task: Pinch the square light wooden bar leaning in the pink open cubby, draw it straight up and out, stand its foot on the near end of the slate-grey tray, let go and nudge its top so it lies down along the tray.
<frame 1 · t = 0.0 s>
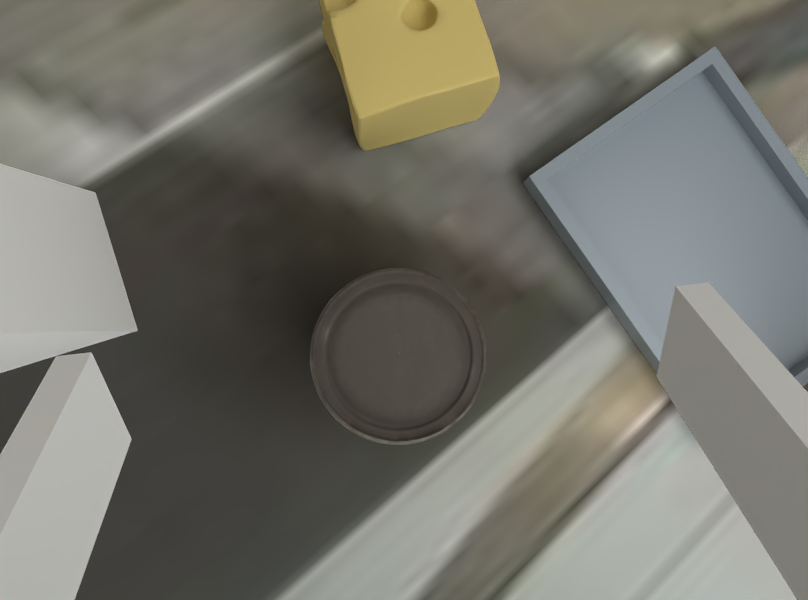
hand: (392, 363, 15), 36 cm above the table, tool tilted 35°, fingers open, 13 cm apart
milk: (44, 283, 50), on the table
cheese: (405, 82, 51), on the table
slate tray: (701, 248, 51), on the table
coffee can: (394, 344, 51), on the table
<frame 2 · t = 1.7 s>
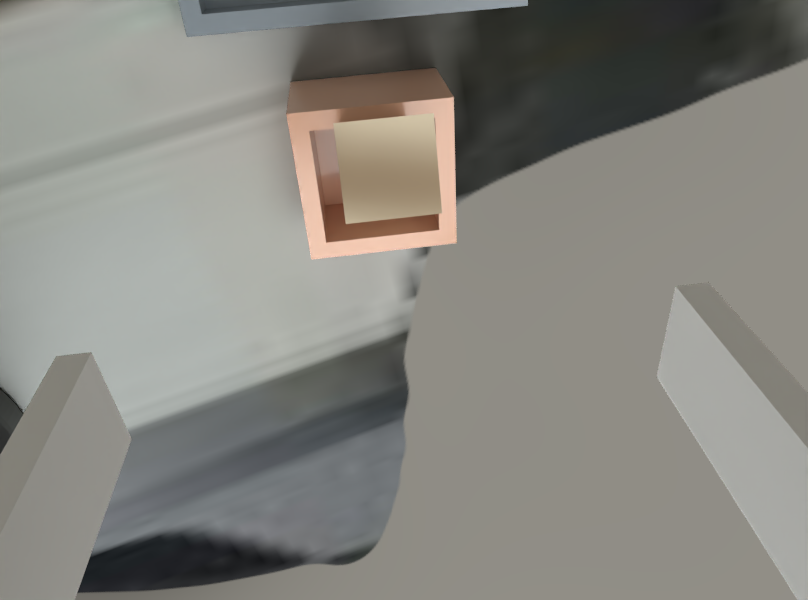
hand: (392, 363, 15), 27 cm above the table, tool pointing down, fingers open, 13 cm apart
light wooden bar: (372, 157, 38), point 2 cm above the table, touching pink open cubby
pink open cubby: (370, 144, 39), on the table
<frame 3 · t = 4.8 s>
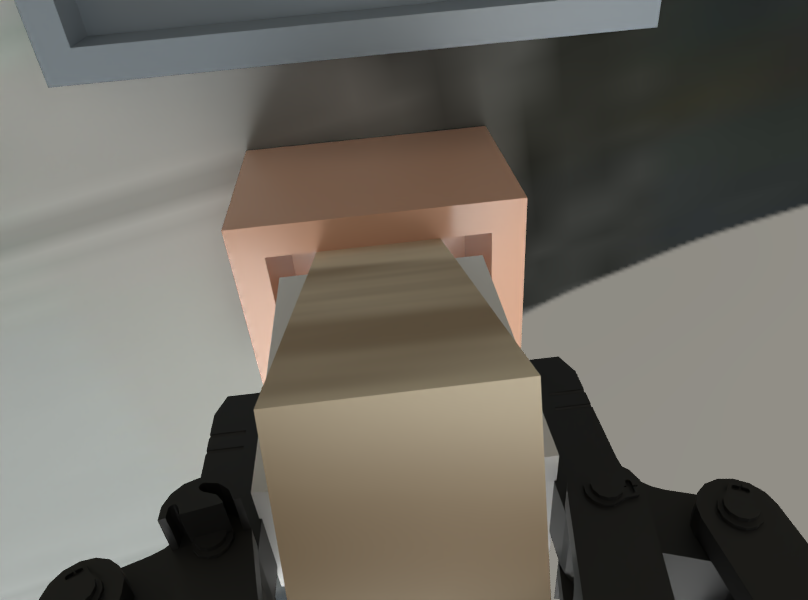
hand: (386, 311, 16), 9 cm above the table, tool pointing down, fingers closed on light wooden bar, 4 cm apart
light wooden bar: (380, 267, 24), point 2 cm above the table, touching gripper, pink open cubby
pink open cubby: (378, 242, 25), on the table
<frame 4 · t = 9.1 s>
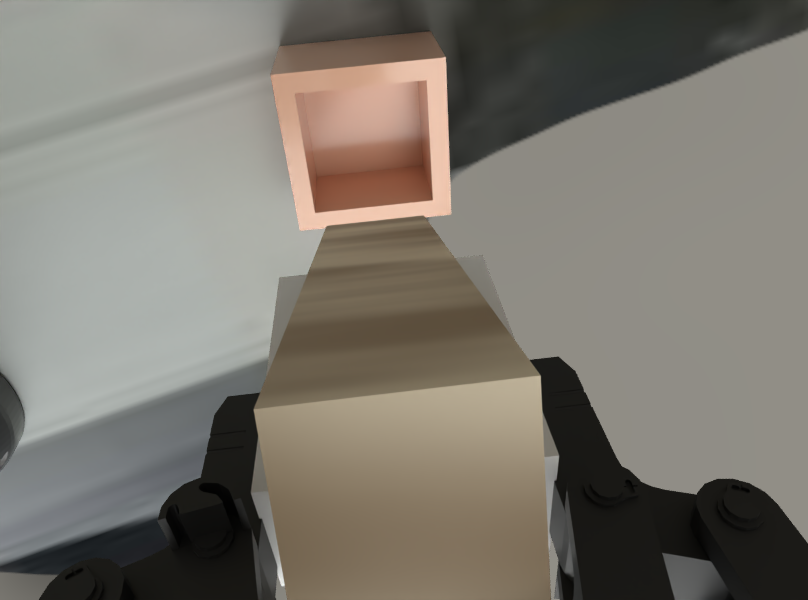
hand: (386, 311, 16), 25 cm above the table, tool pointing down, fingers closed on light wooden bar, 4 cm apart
light wooden bar: (380, 267, 24), point 18 cm above the table, touching gripper
pink open cubby: (363, 113, 38), on the table
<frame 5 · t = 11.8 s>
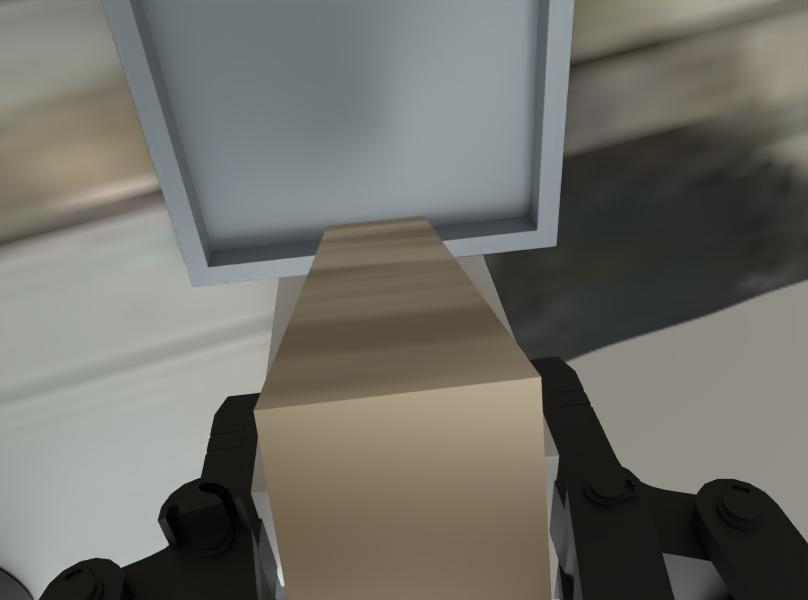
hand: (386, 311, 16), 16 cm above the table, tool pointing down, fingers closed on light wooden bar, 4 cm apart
light wooden bar: (380, 268, 24), point 9 cm above the table, touching gripper
when the fingers open (9 cm above the table, at t = 13.7 s): light wooden bar moves 2 cm and tips over, resting on slate tray.
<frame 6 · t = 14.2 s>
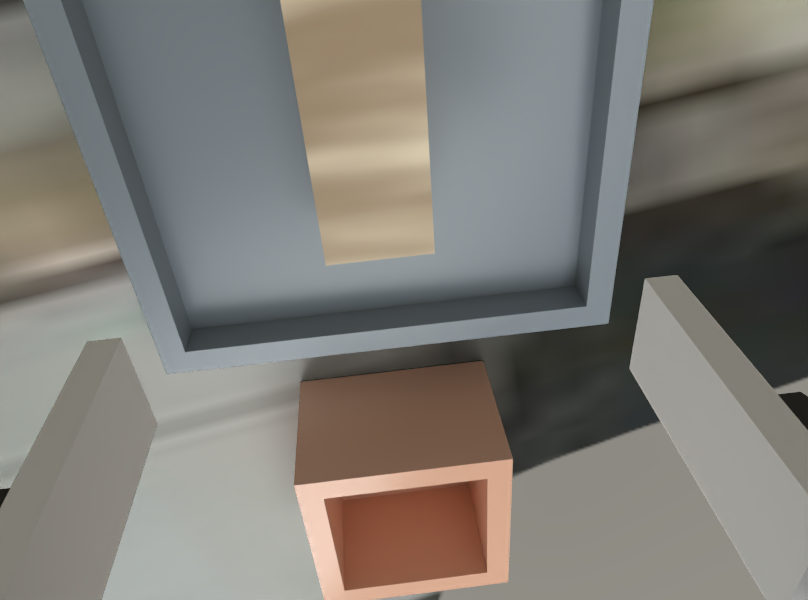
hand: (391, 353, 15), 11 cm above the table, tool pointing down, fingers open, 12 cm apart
light wooden bar: (377, 233, 22), point 3 cm above the table, tilted 72°, touching slate tray
pink open cubby: (399, 434, 32), on the table
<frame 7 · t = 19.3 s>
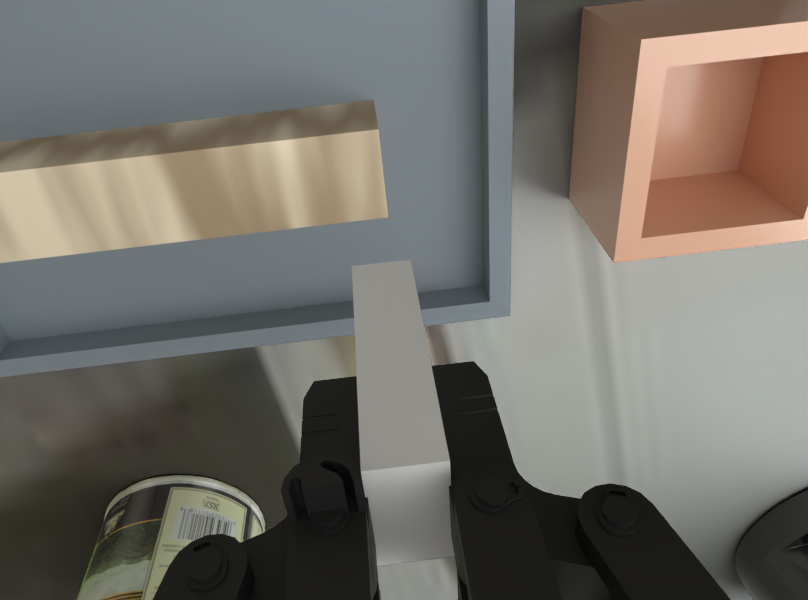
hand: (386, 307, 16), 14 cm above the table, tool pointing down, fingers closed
light wooden bar: (380, 157, 25), point 3 cm above the table, tilted 72°, touching slate tray
slate tray: (211, 152, 28), on the table
coffee can: (188, 522, 42), on the table
pink open cubby: (669, 100, 28), on the table
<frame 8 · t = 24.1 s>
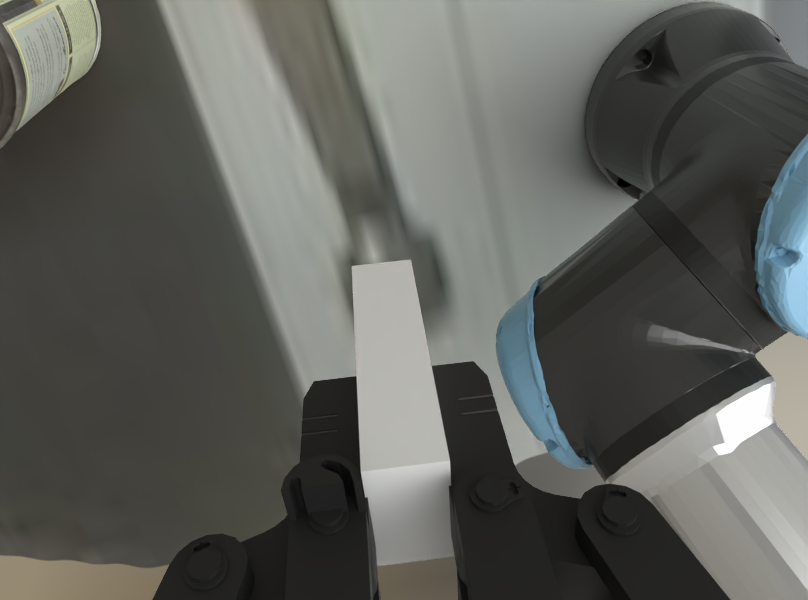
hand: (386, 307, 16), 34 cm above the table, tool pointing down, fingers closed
coffee can: (23, 13, 42), on the table
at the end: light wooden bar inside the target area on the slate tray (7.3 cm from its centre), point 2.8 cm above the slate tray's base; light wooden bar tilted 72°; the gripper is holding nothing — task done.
